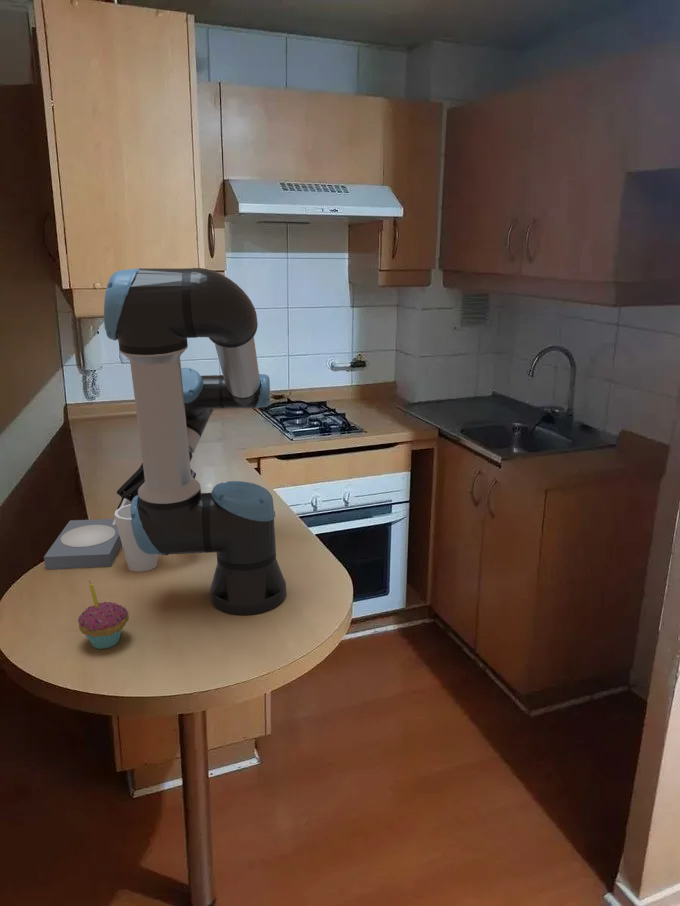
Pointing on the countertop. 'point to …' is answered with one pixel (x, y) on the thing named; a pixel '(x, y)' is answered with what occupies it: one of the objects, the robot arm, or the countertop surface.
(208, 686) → the countertop surface
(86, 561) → the pedestal
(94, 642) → the cupcake
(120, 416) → the countertop surface
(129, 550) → the foam cup
